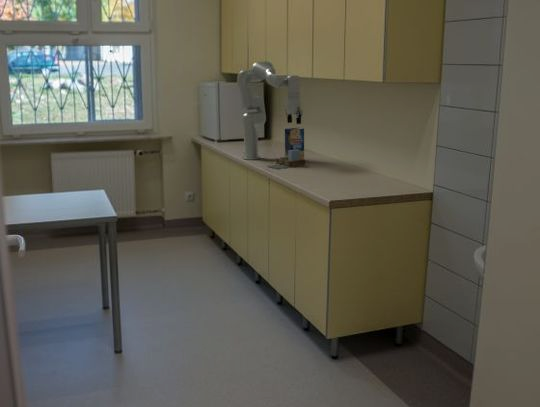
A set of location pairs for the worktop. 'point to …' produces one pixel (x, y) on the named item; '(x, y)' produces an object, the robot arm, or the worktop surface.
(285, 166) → the mat
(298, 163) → the rack
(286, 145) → the blue printed long box
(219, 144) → the worktop surface
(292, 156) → the tall pale blue pillar
